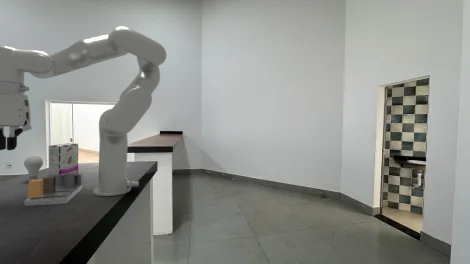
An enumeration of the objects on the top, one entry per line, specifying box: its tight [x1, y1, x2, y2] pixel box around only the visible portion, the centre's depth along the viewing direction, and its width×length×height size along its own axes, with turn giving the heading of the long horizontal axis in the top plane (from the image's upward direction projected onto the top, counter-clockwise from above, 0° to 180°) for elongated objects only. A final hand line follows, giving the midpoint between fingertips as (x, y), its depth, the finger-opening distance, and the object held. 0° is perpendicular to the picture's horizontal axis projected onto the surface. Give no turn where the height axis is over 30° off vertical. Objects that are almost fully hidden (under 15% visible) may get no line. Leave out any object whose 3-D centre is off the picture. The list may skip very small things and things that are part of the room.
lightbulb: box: [23, 155, 44, 181], centre depth 99 cm, size 6×6×11 cm
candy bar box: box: [48, 142, 79, 175], centre depth 99 cm, size 11×5×16 cm, turn 179°
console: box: [24, 173, 84, 207], centre depth 82 cm, size 11×18×7 cm, turn 19°
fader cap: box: [27, 178, 43, 198], centre depth 75 cm, size 3×2×5 cm
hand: (6, 149), depth 72 cm, fingers closed
